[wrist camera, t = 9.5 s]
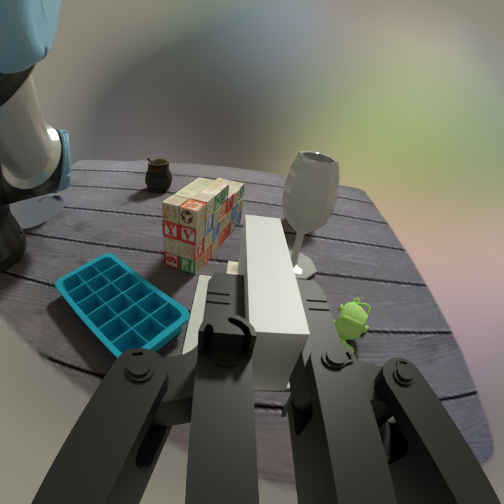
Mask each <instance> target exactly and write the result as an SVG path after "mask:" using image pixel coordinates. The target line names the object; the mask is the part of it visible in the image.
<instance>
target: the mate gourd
mask: <svg viewBox="0 0 504 504" xmlns="http://www.w3.org/2000/svg"><path fill="white" fill-rule="evenodd" d="M147 159H148V161H149V162H148V171H147V174H146V178H145V182H146V184H147V187H148V188H149V189H150V190H151V191H153V192H163V191H167V190H168V189H169V187H170V185H171V182H172V175H171V172H170V170H169V167H168V166H169V161H168V160H166V159H153V160H150V159H149V158H147Z"/></svg>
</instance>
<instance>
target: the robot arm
mask: <svg viewBox="0 0 504 504" xmlns="http://www.w3.org/2000/svg"><path fill="white" fill-rule="evenodd" d="M60 4H61V0H0V272H1V271H3V270H5V269H7V268H8V267H10V266H11V265H12V264H14V263H15V262H16V261H17V260H18V259H19V258H20V257H21V256H22V254H23V253H24V251H25V249H26V245H27V242H26V238H25V235H24V232H23V230H22V229H21V227H20V226H19V224H18V222H17V221H16V219H15V218H14V216H13V215H12V213H11V211H10V207H9V204H11V203H15V202H18V201H22V200H26V199H30V198H34V197H38V196H42V195H47V194H51V193H57V192H59V191H62V190H65V189H67V188H68V186H69V184H70V147H69V136H68V132H67V131H66V130H54V129H53V128H52V127H51V126H49V125H47V124H45V121H44V118H43V115H42V112H41V108H40V105H39V101H38V97H37V94H36V90H35V86H34V82H33V78H32V72H33V70H34V68H35V67H36V64H37V63H38V62H39V61H41V60H42V59H43V58H45V57H46V56H47V55H48V53H49V52H50V50H51V48H52V45H53V43H54V39H55V35H56V31H57V26H58V19H59V13H60ZM326 301H327V300H326V297H325V294H324V292H323V290H322V289H321V287H320V286H319V285H318V284H317V283H316V282H315V281H311V280H299V279H296V276H295V273H294V269H293V265H292V261H291V257H290V254H289V250H288V246H287V243H286V239H285V235H284V232H283V228H282V224H281V221H280V219H277V218H269V217H261V216H253V215H245V221H244V228H243V234H242V241H241V248H240V255H239V261H238V275H236V274H226V273H216V272H215V274H214V275H213V276H212V277H211V278H210V279H209V281H208V286H207V294H206V301H205V308H204V316H203V322H202V323H201V325H200V328H199V330H198V344H197V345H196V347H195V348H193V349H192V350H191V351H189V352H187V353H185V354H182V355H178V356H173V357H165V358H162V357H161V356H160V354H158V353H156V352H154V351H153V350H151V349H145V348H134V349H130V350H128V351H125V352H123V353H122V354H121V355H120V356H119V357H118V358H117V359H116V360H115V362H114V363H113V365H112V366H111V368H110V369H109V371H108V372H107V374H106V375H105V377H104V378H103V380H102V382H101V383H100V385H99V386H98V388H97V389H96V391H95V393H94V394H93V396H92V397H91V399H90V401H89V402H88V404H87V406H86V407H85V409H84V410H83V412H82V414H81V416H80V417H79V419H78V421H77V422H76V424H75V425H74V427H73V429H72V430H71V432H70V434H69V436H68V437H67V439H66V441H65V442H64V444H63V446H62V448H61V450H60V451H59V453H58V455H57V456H56V458H55V460H54V462H53V464H52V465H51V467H50V469H49V471H48V473H47V475H46V477H45V478H44V480H43V482H42V484H41V486H40V488H39V490H38V492H37V494H36V496H35V498H34V500H33V501H32V503H31V504H139V503H140V501H141V498H142V496H143V494H144V491H145V489H146V486H147V484H148V482H149V479H150V477H151V474H152V472H153V470H154V468H155V465H156V463H157V460H158V458H159V456H160V453H161V451H162V449H163V446H164V444H165V442H166V439H167V437H168V435H169V432H170V430H171V428H172V425H178V424H184V423H189V422H191V424H190V436H189V449H188V463H187V479H186V480H187V481H186V499H185V504H259V492H258V473H257V454H256V435H255V415H254V395H253V390H275V391H285V390H286V388H287V385H288V383H289V384H290V391H291V395H290V397H289V399H288V401H287V403H286V405H285V407H284V408H283V410H282V416H281V417H285V416H286V414H287V412H288V418H289V426H290V435H291V443H292V452H293V461H294V470H295V479H296V489H297V498H298V504H501V503H500V501H499V499H498V497H497V495H496V493H495V492H494V489H493V488H492V486H491V484H490V482H489V480H488V478H487V476H486V475H485V473H484V471H483V469H482V468H481V466H480V464H479V462H478V461H477V459H476V457H475V456H474V454H473V452H472V451H471V449H470V447H469V446H468V444H467V442H466V441H465V439H464V437H463V436H462V434H461V433H460V431H459V429H458V428H457V426H456V425H455V423H454V422H453V420H452V418H451V417H450V415H449V414H448V412H447V411H446V409H445V408H444V406H443V405H442V403H441V402H440V400H439V399H438V397H437V396H436V394H435V393H434V391H433V390H432V388H431V387H430V386H429V384H428V383H427V381H426V380H425V378H424V377H423V376H422V374H421V373H420V371H419V370H418V369H417V367H416V366H415V365H414V364H413V363H411V362H410V361H408V360H406V359H403V358H399V357H398V358H391V359H390V360H388V361H386V363H385V364H384V365H383V367H381V366H377V365H373V364H369V363H365V362H362V361H359V360H357V359H356V357H355V355H354V353H353V352H352V351H351V350H350V349H349V348H348V347H347V346H345V345H343V344H341V342H340V339H339V336H338V333H337V330H336V327H335V324H334V321H333V318H332V315H331V312H330V311H329V310H330V309H329V306H328V303H326ZM392 416H393V417H394V419H395V420H394V419H393V418H392Z"/></svg>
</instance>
